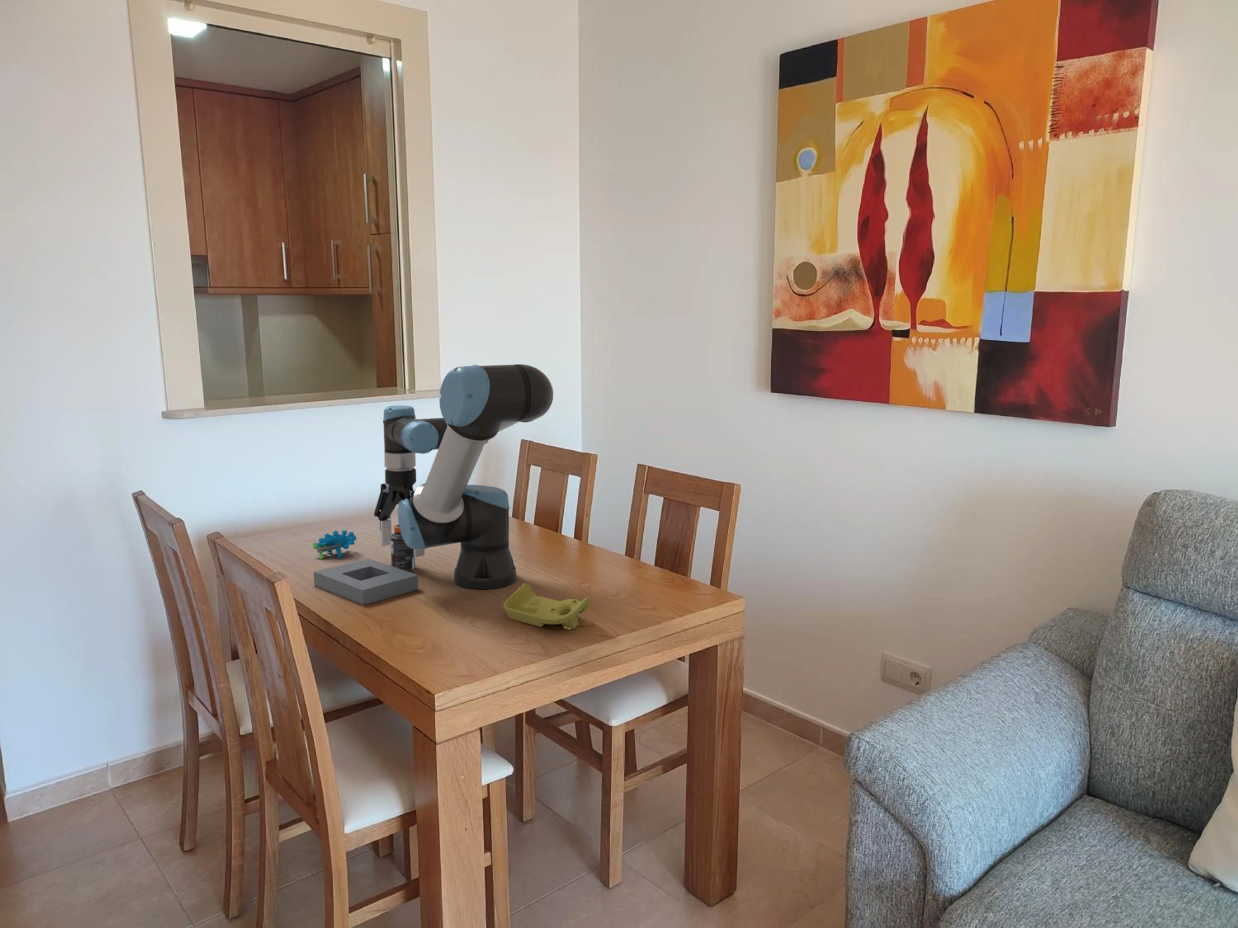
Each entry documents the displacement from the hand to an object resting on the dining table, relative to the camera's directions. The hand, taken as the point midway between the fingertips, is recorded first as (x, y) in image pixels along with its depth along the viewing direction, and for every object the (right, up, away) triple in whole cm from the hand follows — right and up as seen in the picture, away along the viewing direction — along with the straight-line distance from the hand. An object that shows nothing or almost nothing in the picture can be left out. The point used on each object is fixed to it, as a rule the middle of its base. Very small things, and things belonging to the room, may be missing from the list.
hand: (402, 550), depth 220 cm
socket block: (-5, -7, -15) cm, 17 cm away
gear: (-21, -3, +11) cm, 24 cm away
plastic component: (+40, -12, -35) cm, 54 cm away
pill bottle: (0, -5, +1) cm, 5 cm away
